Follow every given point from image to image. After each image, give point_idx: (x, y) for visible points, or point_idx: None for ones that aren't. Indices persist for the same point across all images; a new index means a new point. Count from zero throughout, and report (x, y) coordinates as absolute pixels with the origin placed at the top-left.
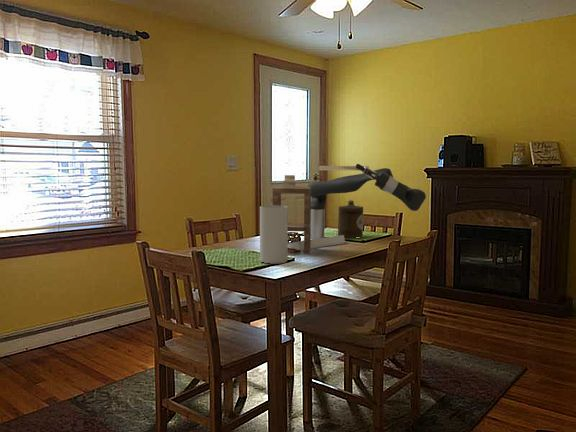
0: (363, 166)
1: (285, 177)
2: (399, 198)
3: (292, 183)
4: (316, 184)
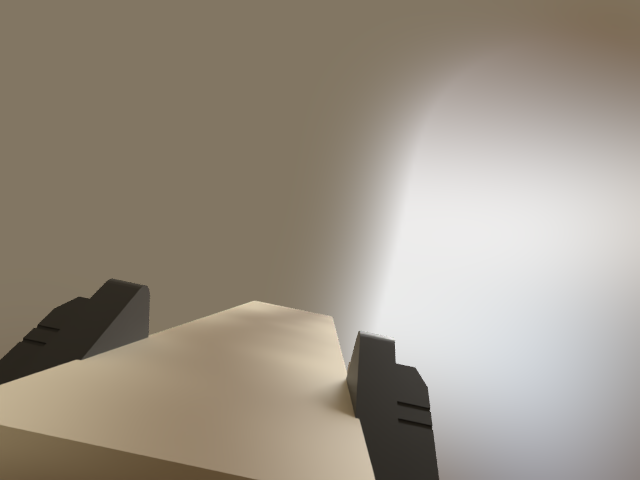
0: (57, 372)
1: (347, 373)
2: None
3: None
4: None
